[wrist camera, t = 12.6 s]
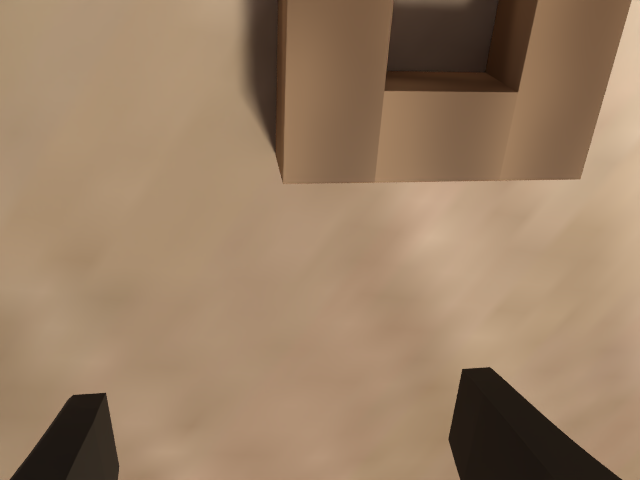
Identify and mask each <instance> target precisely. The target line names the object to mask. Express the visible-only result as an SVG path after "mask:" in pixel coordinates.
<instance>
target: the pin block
mask: <svg viewBox="0 0 640 480" xmlns="http://www.w3.org/2000/svg"><path fill="white" fill-rule="evenodd" d="M393 4H394V0H278V39H277V97H276V158H277V162H278V166H279V170H280V174H281V178H282V182H283V184H312V183H375V182H439V181H502V180H565V179H580V178H581V175H582V171H583V168H584V164H585V161H586V157H587V154H588V150H589V147H590V143H591V140H592V136H593V133H594V129H595V126H596V122H597V119H598V115H599V112H600V108H601V105H602V101H603V98H604V94H605V91H606V88H607V84H608V81H609V77H610V74H611V70H612V67H613V63H614V60H615V56H616V53H617V49H618V46H619V42H620V39H621V35H622V32H623V28H624V25H625V21H626V18H627V14H628V11H629V7H630V4H631V0H499V2H498V7H497V13H496V18H495V23H494V29H493V34H492V39H491V45H490V50H489V56H488V61H487V66H486V72H485V73H481V72H419V71H386V70H387V61H388V51H389V42H390V32H391V23H392V13H393Z"/></svg>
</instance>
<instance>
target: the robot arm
mask: <svg viewBox="0 0 640 480" xmlns="http://www.w3.org/2000/svg"><path fill="white" fill-rule="evenodd" d="M449 443H450V446H451V450H452V453H453V457H454V460H455V464H456V467H457V470H458V473H459V477H460V480H622V479H621V478H619V477H618V476H617V475H615V474H614V473H613V472H611V471H610V470H609V469H608V468H606V467H605V466H604V465H602V464H601V463H600V462H599V461H597V460H596V459H595V458H593V457H592V456H591V455H590V454H588V453H587V452H586V451H585V450H584V449H582V448H581V447H580V446H579V445H578V444H576V443H575V442H574V441H573V440H572V439H570V438H569V437H568V436H567V435H566V434H564V433H563V432H562V431H561V430H560V429H559V428H557V427H556V426H555V425H554V424H553V423H552V422H551V421H549V420H548V419H547V418H546V417H545V416H544V415H543V414H542V413H540V412H539V411H538V410H537V409H536V408H535V407H534V406H533V405H532V404H530V403H529V402H528V401H527V400H526V399H525V398H524V397H523V396H522V395H520V394H519V393H518V392H517V391H516V390H515V389H514V388H513V387H512V386H511V385H509V384H508V383H507V382H506V381H505V380H504V379H503V378H502V377H501V376H499V375H498V374H497V373H496V372H495V371H494V370H493V369H491V368H490V367H487V368H472V369H462V374H461V379H460V384H459V389H458V394H457V399H456V404H455V409H454V414H453V419H452V424H451V429H450V434H449ZM118 473H119V463H118V457H117V452H116V446H115V441H114V435H113V430H112V424H111V418H110V413H109V407H108V402H107V396H106V393H97V394H82V395H73V396H72V397H71V398H69V399H68V400H67V402H66V403H65V405H64V406H63V408H62V409H61V411H60V412H59V414H58V415H57V417H56V418H55V419H54V421H53V422H52V424H51V425H50V427H49V428H48V429H47V431H46V432H45V434H44V435H43V436H42V438H41V439H40V440H39V442H38V443H37V445H36V446H35V447H34V449H33V450H32V451H31V453H30V454H29V455H28V457H27V458H26V459H25V461H24V462H23V463H22V465H21V466H20V467H19V468H18V470H17V471H16V472H15V474H14V475H13V476H12V477H11V479H10V480H118Z"/></svg>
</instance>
